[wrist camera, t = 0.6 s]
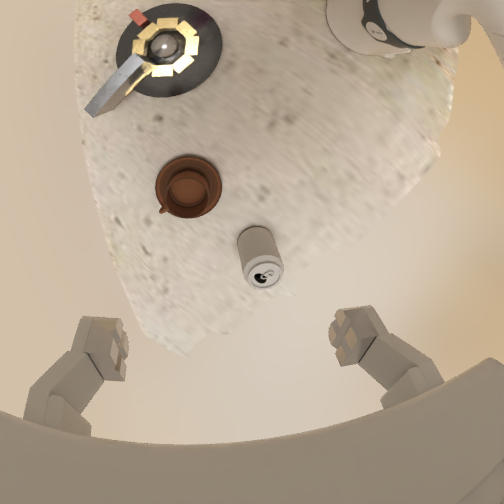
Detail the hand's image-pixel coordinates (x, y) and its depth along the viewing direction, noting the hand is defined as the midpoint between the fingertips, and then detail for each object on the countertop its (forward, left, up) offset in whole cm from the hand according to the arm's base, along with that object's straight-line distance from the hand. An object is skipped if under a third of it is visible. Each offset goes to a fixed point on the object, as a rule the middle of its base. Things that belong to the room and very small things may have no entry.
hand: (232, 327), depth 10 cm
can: (+13, +22, -41) cm, 48 cm away
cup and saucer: (+11, +4, -41) cm, 43 cm away
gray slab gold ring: (-3, -15, -39) cm, 42 cm away
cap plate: (-7, -14, -41) cm, 44 cm away
